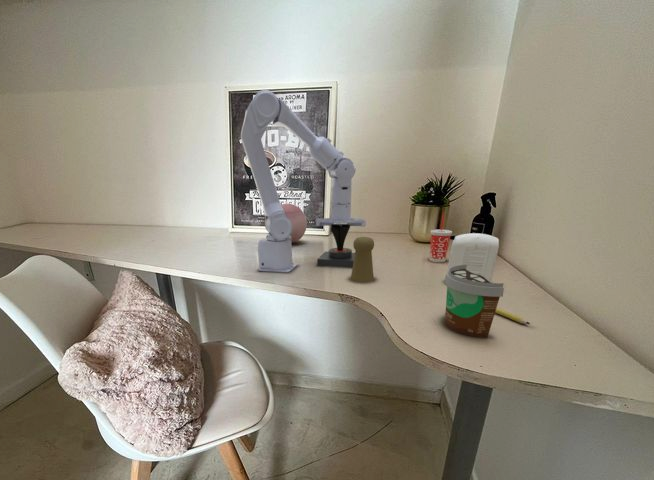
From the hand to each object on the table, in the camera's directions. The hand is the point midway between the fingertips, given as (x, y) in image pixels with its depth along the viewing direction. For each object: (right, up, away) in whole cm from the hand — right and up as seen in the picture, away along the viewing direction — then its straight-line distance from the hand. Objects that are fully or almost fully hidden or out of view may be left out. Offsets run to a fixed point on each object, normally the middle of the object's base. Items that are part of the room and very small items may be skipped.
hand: (340, 250), depth 102 cm
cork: (+4, -11, -14) cm, 18 cm away
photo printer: (+30, -12, -19) cm, 38 cm away
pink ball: (-18, +8, +31) cm, 36 cm away
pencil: (+28, -20, -36) cm, 49 cm away
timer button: (0, -2, +1) cm, 2 cm away
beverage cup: (+30, -3, +2) cm, 31 cm away
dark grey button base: (0, -4, +2) cm, 4 cm away
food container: (+18, -22, -40) cm, 49 cm away
